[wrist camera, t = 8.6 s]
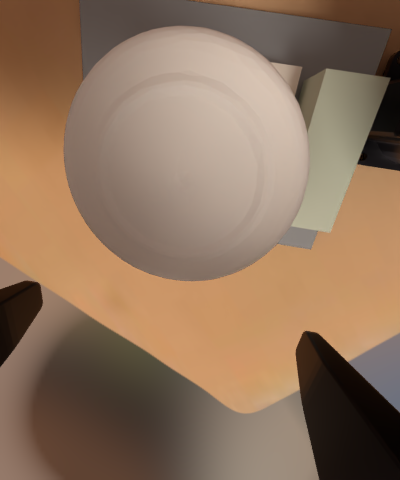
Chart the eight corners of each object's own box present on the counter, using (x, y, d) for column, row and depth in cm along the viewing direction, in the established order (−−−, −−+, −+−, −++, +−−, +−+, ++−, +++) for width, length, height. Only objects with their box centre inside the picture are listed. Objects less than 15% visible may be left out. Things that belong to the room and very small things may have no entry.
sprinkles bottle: (169, 156, 17) (36, 238, 5) (195, 84, 15) (79, -55, 3) (231, 184, 18) (238, 320, 6) (263, 117, 16) (382, 101, 4)
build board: (383, 33, 15) (447, -3, 11) (308, 245, 21) (329, 277, 17) (85, -9, 16) (30, -60, 11) (94, 209, 22) (60, 231, 17)
